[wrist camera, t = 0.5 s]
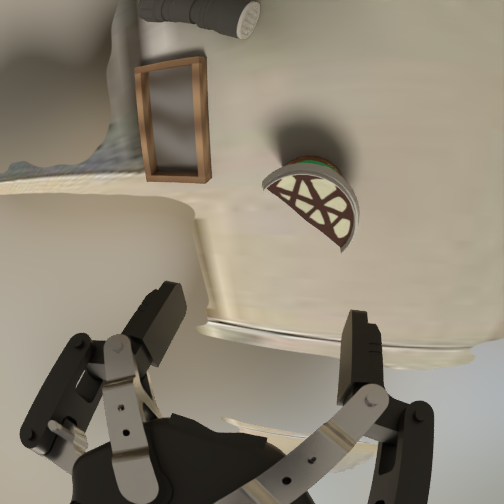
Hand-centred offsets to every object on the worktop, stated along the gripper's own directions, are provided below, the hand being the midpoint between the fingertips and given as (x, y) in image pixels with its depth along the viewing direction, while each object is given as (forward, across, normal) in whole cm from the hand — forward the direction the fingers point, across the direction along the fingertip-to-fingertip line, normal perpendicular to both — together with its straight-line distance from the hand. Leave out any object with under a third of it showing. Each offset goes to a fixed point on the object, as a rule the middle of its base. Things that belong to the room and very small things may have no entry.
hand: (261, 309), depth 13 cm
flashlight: (+30, +19, -23) cm, 42 cm away
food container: (+28, -3, +3) cm, 28 cm away
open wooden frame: (+28, +18, -4) cm, 33 cm away
